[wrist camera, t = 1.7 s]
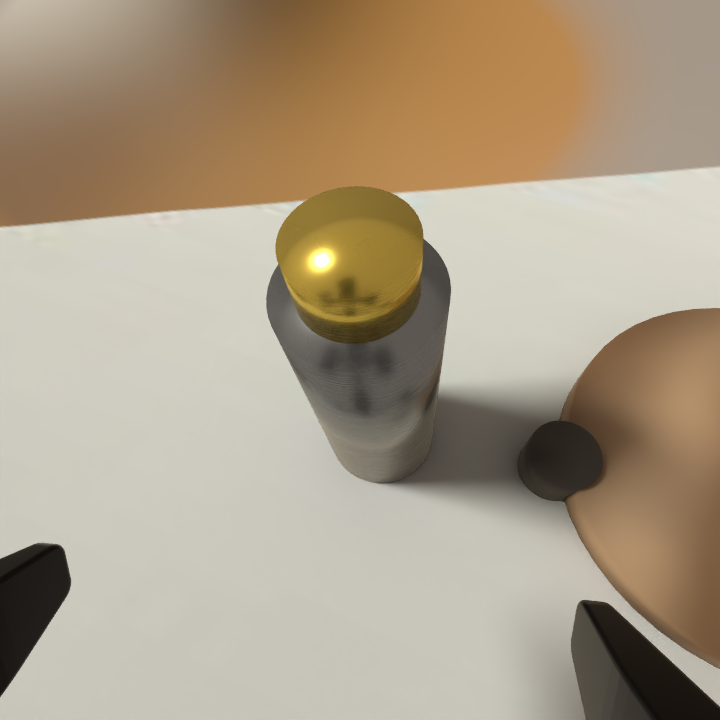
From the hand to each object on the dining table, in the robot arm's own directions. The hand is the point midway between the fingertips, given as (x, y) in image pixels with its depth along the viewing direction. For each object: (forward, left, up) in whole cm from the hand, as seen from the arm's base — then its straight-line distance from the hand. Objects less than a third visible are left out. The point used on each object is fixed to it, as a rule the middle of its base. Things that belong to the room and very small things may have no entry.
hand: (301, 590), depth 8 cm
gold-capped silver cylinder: (+4, -7, -14) cm, 16 cm away
